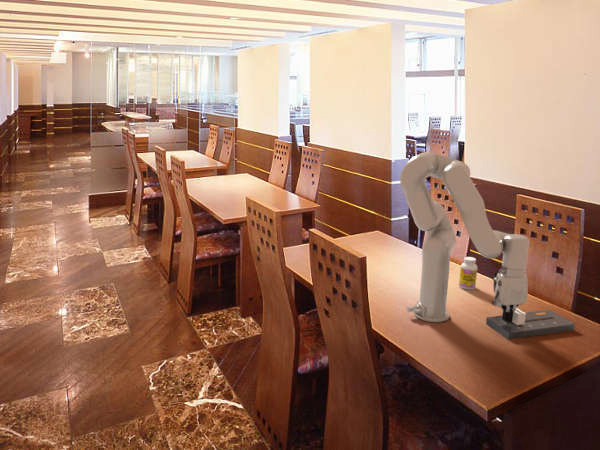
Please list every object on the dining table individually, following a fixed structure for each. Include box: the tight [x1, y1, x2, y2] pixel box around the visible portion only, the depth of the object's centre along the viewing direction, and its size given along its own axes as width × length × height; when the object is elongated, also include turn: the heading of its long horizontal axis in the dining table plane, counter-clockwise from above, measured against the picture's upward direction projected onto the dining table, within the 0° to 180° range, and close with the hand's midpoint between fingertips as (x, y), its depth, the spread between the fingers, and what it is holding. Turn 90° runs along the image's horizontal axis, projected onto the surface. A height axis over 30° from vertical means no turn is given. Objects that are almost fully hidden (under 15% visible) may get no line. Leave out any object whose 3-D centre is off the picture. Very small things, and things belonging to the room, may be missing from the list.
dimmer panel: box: [485, 309, 576, 340], centre depth 174 cm, size 27×12×3 cm, turn 105°
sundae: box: [491, 272, 501, 306], centre depth 191 cm, size 7×7×15 cm
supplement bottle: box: [458, 256, 478, 291], centre depth 208 cm, size 7×7×13 cm
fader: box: [512, 307, 526, 325], centre depth 171 cm, size 3×5×4 cm, turn 16°
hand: (507, 320), depth 171 cm, fingers closed
